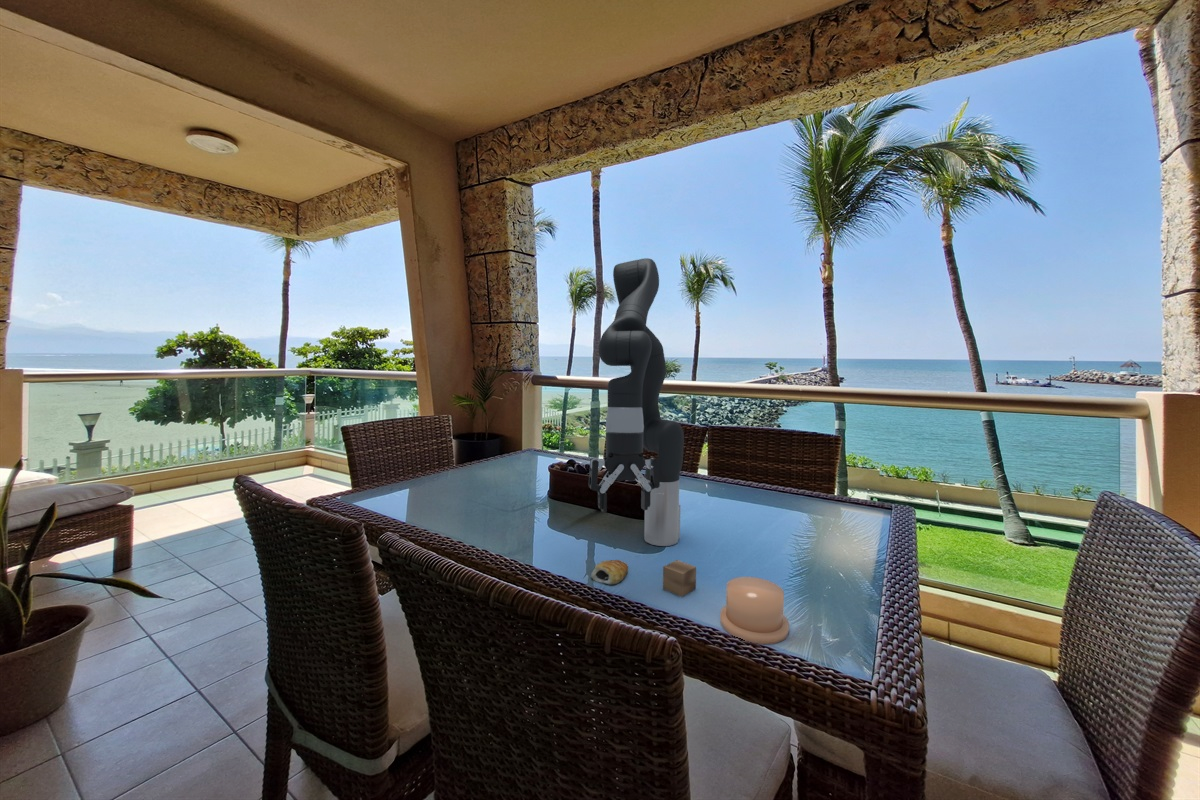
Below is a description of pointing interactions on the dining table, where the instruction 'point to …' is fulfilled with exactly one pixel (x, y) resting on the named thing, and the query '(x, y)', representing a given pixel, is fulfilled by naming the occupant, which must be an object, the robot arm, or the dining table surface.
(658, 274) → the robot arm
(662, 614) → the dining table surface
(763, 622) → the upside-down peach bowl
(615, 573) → the pastry
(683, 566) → the walnut block
